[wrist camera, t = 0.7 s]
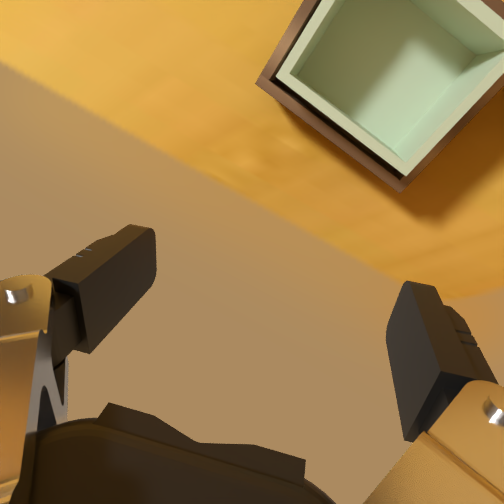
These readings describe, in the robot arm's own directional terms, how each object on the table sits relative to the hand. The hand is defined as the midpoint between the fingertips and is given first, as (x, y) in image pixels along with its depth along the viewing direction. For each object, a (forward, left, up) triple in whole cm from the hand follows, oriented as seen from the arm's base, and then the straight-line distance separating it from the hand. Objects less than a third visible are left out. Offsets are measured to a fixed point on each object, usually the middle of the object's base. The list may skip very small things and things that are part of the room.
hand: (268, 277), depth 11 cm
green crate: (-9, 0, -24) cm, 26 cm away
